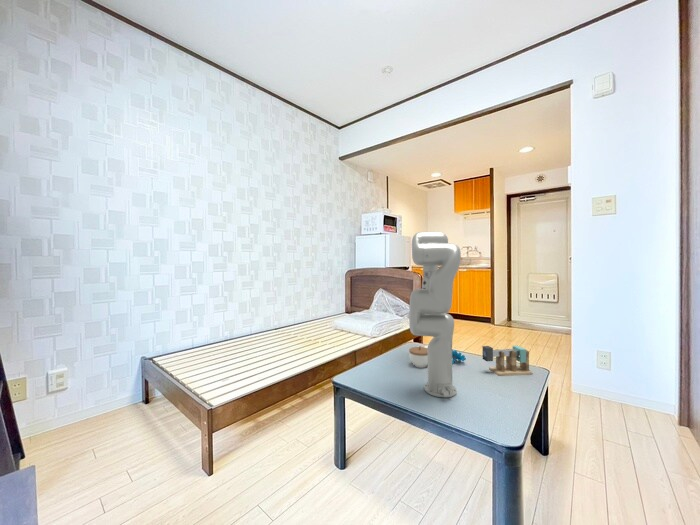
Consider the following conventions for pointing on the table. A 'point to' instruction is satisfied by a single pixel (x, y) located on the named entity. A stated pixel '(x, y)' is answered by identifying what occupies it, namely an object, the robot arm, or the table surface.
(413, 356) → the lidded jar
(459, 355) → the blue coral
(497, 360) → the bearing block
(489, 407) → the table surface
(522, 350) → the block
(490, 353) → the grey mallet
